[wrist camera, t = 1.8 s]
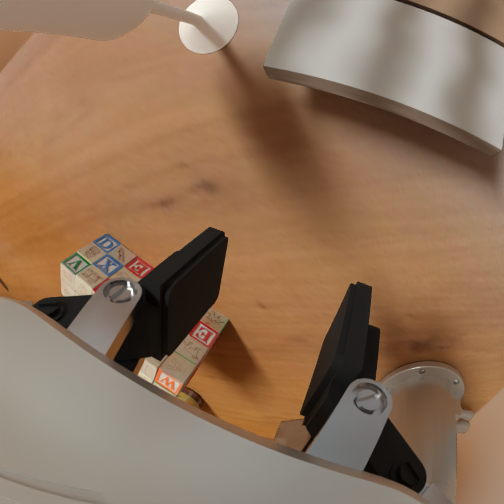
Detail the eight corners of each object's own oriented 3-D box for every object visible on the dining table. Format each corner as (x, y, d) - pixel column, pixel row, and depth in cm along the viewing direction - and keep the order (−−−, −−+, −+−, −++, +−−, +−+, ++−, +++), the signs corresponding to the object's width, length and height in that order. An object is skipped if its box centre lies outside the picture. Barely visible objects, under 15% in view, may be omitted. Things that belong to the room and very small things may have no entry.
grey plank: (497, 59, 16) (505, 48, 15) (490, 156, 18) (501, 150, 16) (303, -6, 20) (300, -20, 19) (268, 78, 22) (262, 65, 20)
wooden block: (314, 416, 43) (284, 500, 31) (324, 427, 44) (296, 508, 31) (280, 421, 47) (246, 497, 34) (290, 432, 47) (259, 505, 35)
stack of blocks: (102, 263, 46) (45, 304, 35) (107, 231, 42) (42, 271, 32) (215, 344, 44) (170, 407, 33) (231, 318, 40) (182, 386, 30)
